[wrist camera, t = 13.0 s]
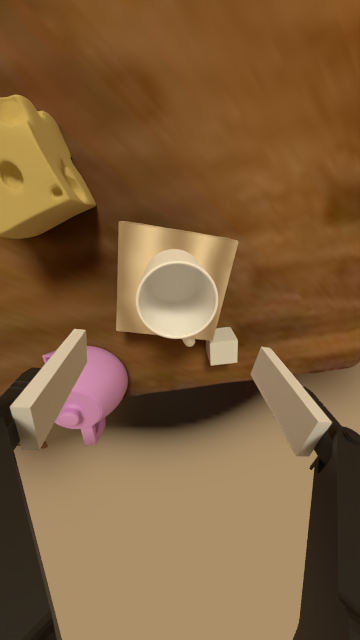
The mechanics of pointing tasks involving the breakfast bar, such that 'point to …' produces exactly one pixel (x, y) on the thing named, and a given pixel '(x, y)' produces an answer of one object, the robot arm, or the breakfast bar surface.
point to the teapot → (93, 394)
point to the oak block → (149, 241)
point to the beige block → (222, 347)
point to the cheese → (35, 172)
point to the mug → (176, 296)
